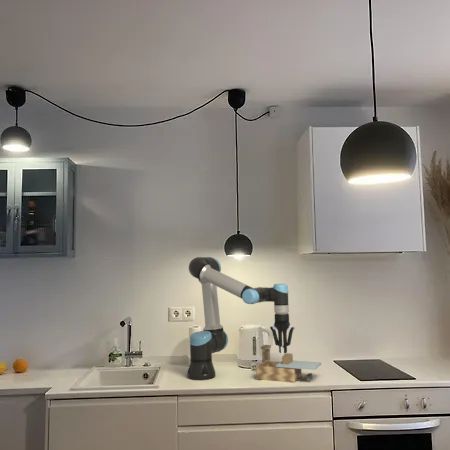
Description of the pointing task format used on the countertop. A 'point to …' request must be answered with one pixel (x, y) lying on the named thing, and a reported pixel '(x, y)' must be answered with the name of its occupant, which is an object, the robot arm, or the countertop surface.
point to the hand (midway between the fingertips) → (283, 359)
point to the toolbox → (280, 373)
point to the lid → (297, 363)
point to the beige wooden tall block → (265, 352)
